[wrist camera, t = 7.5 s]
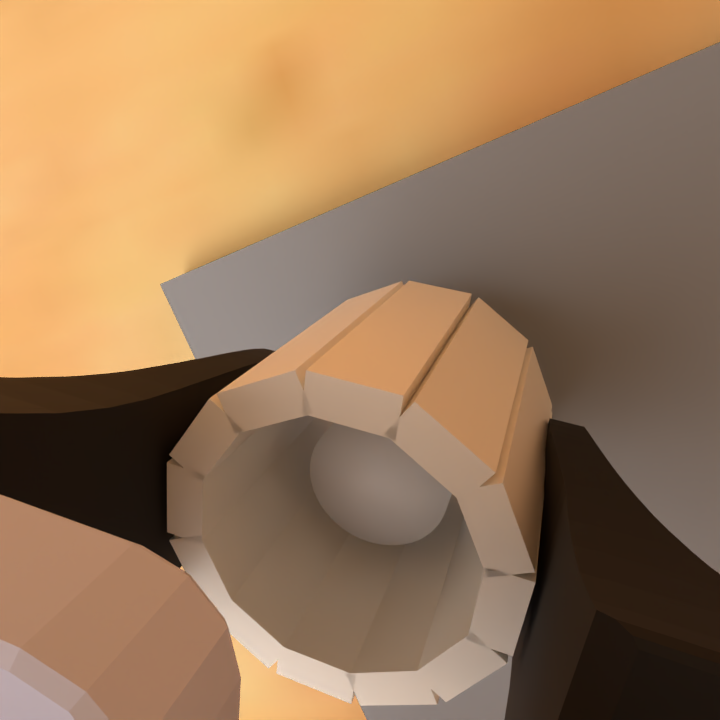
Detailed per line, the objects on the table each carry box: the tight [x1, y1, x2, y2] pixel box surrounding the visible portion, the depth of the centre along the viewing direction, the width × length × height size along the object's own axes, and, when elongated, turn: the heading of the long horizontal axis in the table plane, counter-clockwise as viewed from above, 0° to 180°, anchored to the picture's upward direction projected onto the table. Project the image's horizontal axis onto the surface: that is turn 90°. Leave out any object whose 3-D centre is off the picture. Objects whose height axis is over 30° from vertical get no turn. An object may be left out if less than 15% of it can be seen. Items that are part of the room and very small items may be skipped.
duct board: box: [160, 42, 720, 720], centre depth 11 cm, size 16×20×6 cm
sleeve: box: [167, 281, 552, 706], centre depth 10 cm, size 5×5×5 cm
